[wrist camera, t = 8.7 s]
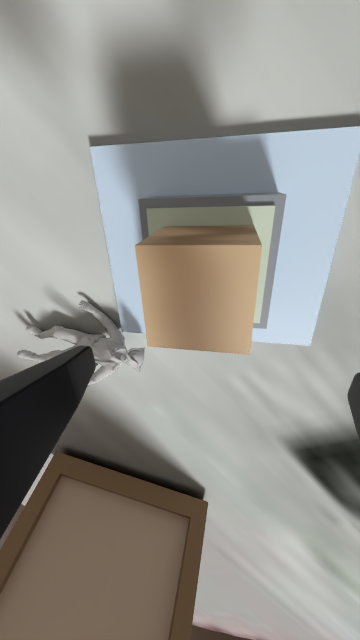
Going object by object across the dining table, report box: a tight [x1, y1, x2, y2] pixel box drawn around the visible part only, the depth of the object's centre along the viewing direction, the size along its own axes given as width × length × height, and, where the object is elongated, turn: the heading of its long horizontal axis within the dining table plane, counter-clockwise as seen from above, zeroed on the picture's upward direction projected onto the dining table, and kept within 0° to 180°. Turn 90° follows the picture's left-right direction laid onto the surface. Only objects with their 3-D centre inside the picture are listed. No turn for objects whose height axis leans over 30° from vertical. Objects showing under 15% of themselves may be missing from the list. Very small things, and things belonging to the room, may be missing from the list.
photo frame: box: [0, 451, 208, 640], centre depth 28 cm, size 15×22×25 cm
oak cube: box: [135, 225, 262, 355], centre depth 13 cm, size 5×5×5 cm
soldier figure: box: [17, 300, 145, 385], centre depth 23 cm, size 8×5×12 cm
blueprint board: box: [90, 126, 360, 346], centre depth 18 cm, size 16×14×1 cm
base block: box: [138, 192, 287, 329], centre depth 17 cm, size 8×8×3 cm
